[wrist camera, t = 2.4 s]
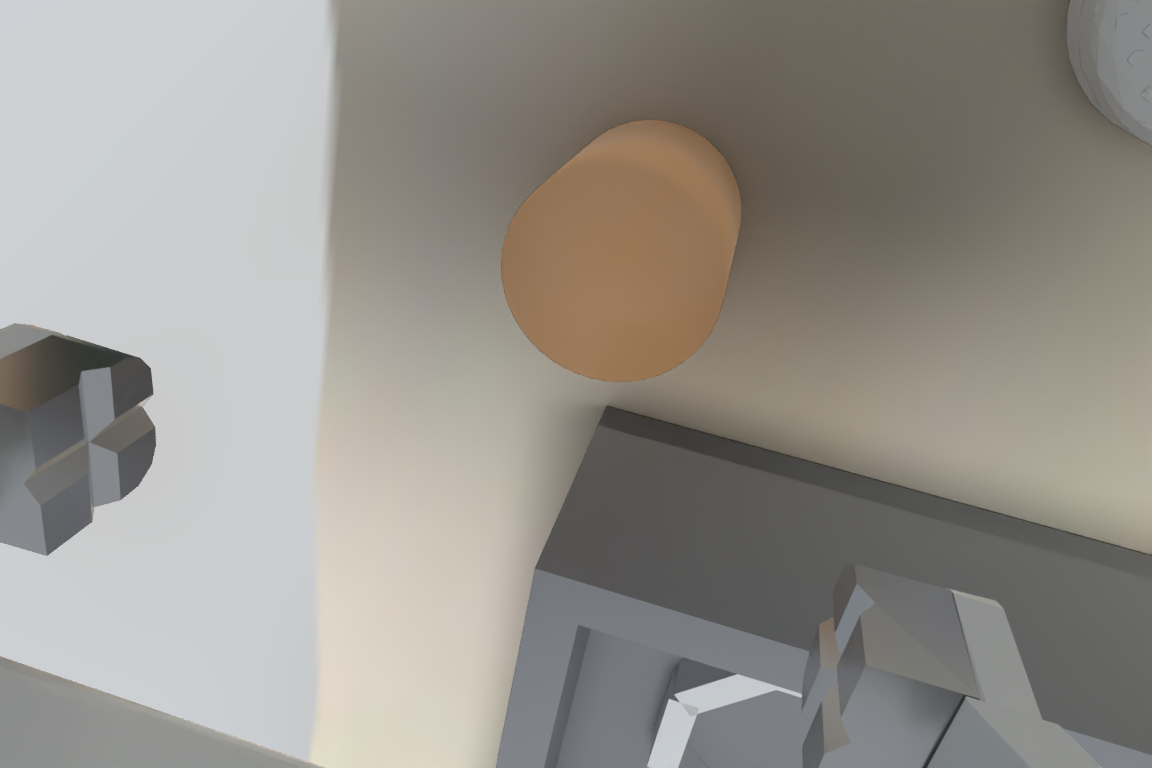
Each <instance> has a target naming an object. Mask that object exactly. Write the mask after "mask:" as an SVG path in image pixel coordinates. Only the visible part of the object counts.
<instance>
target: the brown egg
mask: <svg viewBox="0 0 1152 768" xmlns="http://www.w3.org/2000/svg"><path fill="white" fill-rule="evenodd" d="M741 215H742V207H741V197H740V192H739V187H738V184H737V181H736V178H735V176H734V174H733V172H732V170H731V168H730V166H729V164H728V163H727V161H726V160H725V158H724V157H723V155H722V154H721V153H720V152H719V151H718V150H717V149H716V147H715V146H714V145H713V144H711V143H710V142H709V141H708V140H707V139H705V138H704V137H703V136H701V135H700V134H698V133H696V132H695V131H693V130H691V129H689V128H687V127H684V126H682V125H679V124H676V123H672V122H668V121H661V120H639V121H632V122H629V123H625V124H621V125H619V126H616V127H614V128H612V129H610V130H608V131H606V132H604V133H603V134H601V135H600V136H598V137H597V138H596V139H595V140H593V141H592V142H591V143H590V144H588V145H587V146H586V147H585V148H584V149H583V150H581V151H580V152H579V153H578V154H577V155H576V156H574V157H573V158H572V159H571V160H570V161H569V162H567V163H566V164H565V165H564V166H563V167H562V168H560V169H559V170H558V171H557V172H556V173H555V174H553V175H552V176H551V177H550V178H549V179H548V180H546V181H545V182H544V183H543V184H542V185H541V186H539V187H538V188H537V189H536V190H535V191H534V192H533V193H532V194H531V195H530V196H529V197H528V198H527V199H526V200H525V201H524V202H523V204H522V205H521V207H520V208H519V209H518V211H517V212H516V214H515V216H514V218H513V220H512V222H511V223H510V226H509V228H508V231H507V234H506V237H505V241H504V245H503V250H502V261H501V271H502V282H503V287H504V293H505V296H506V299H507V302H508V305H509V308H510V310H511V312H512V314H513V316H514V318H515V320H516V322H517V323H518V325H519V327H520V328H521V330H522V331H523V332H524V334H525V335H526V336H527V337H528V339H529V340H530V341H531V342H532V343H533V344H534V345H535V346H536V347H537V348H538V349H539V350H540V351H541V352H542V353H543V354H545V355H546V356H547V357H548V358H550V359H551V360H552V361H554V362H556V363H557V364H559V365H560V366H562V367H564V368H566V369H568V370H570V371H572V372H574V373H577V374H580V375H583V376H586V377H589V378H593V379H598V380H602V381H613V382H629V381H637V380H643V379H647V378H651V377H654V376H658V375H660V374H662V373H665V372H667V371H669V370H671V369H673V368H675V367H676V366H678V365H680V364H681V363H683V362H684V361H685V360H686V359H688V358H689V357H690V356H691V355H693V354H694V353H695V352H696V351H697V349H698V348H699V347H700V346H701V345H702V344H703V343H704V341H705V340H706V339H707V337H708V336H709V334H710V333H711V331H712V329H713V327H714V325H715V323H716V322H717V319H718V316H719V313H720V311H721V308H722V304H723V299H724V295H725V291H726V287H727V282H728V278H729V274H730V269H731V265H732V261H733V256H734V252H735V248H736V243H737V239H738V235H739V230H740V225H741Z"/></svg>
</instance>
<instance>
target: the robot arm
mask: <svg viewBox="0 0 1152 768" xmlns="http://www.w3.org/2000/svg"><path fill="white" fill-rule="evenodd" d="M152 395H153V385H152V376H151V368H150V367H149V366H148V365H147V364H146V363H145V362H144V361H143V360H142V359H141V358H138V357H135V356H132V355H129V354H125V353H122V352H119V351H115V350H112V349H109V348H106V347H102V346H100V345H96V344H93V343H90V342H87V341H84V340H80V339H77V338H74V337H70V336H65V335H63V334H61V333H58V332H54V331H50V330H47V329H43V328H40V327H36V326H33V325H26V324H12V325H10V326H7V327H5V328H2V329H0V542H1V543H5V544H8V545H12V546H15V547H19V548H22V549H25V550H29V551H32V552H36V553H39V554H42V555H46V556H47V555H49V554H50V553H51V552H53V551H54V550H55V549H57V548H58V547H59V546H60V545H62V544H63V543H64V542H66V541H67V540H69V539H70V538H71V537H73V536H74V535H75V534H76V533H78V532H79V531H80V530H82V529H83V528H84V527H85V526H87V525H88V524H90V523H91V522H92V520H93V513H94V507H96V506H100V505H104V504H108V503H111V502H115V501H118V500H121V499H122V498H123V497H125V496H126V495H127V494H129V493H130V492H131V491H132V490H134V489H135V488H136V487H137V486H138V485H139V484H140V482H141V481H142V479H143V477H144V476H145V474H146V473H147V471H148V469H149V468H150V466H151V464H152V460H153V456H154V451H155V446H156V439H155V438H156V437H155V426H154V424H153V423H152V421H151V420H150V418H149V416H148V415H147V413H146V412H145V410H144V409H143V406H144V405H145V403H146V402H147V401H148V400H149V399H150V398H151V396H152ZM832 594H833V612H834V617H832V618H830V619H828V620H827V621H825V622H823V623H821V624H819V626H818V629H817V632H816V634H815V637H814V640H813V642H812V645H811V647H810V651H809V655H808V659H807V663H806V667H805V671H804V677H803V686H802V713H803V714H804V716H805V717H806V719H807V720H808V721H809V723H810V724H811V727H810V729H809V731H808V734H807V736H806V738H805V741H804V743H803V745H802V763H803V768H1103V767H1102V766H1101V765H1100V764H1099V763H1098V762H1097V761H1096V760H1095V759H1094V758H1093V757H1092V756H1090V755H1089V754H1088V753H1087V752H1086V751H1085V750H1084V749H1083V748H1082V747H1081V746H1080V745H1079V744H1078V743H1077V742H1076V741H1075V740H1074V739H1073V738H1072V737H1071V736H1070V735H1069V734H1068V733H1067V732H1066V731H1065V730H1064V729H1063V728H1062V727H1061V726H1060V725H1058V724H1055V723H1052V722H1048V721H1045V720H1043V719H1042V716H1041V714H1040V711H1039V708H1038V705H1037V702H1036V699H1035V697H1034V694H1033V691H1032V688H1031V685H1030V682H1029V680H1028V677H1027V674H1026V671H1025V668H1024V665H1023V663H1022V660H1021V657H1020V654H1019V651H1018V648H1017V645H1016V643H1015V640H1014V637H1013V634H1012V631H1011V628H1010V626H1009V623H1008V620H1007V617H1006V614H1005V611H1004V609H1003V607H1002V606H1001V605H1000V604H999V603H998V602H997V601H995V600H991V599H987V598H983V597H979V596H975V595H971V594H967V593H963V592H959V591H955V590H951V589H947V588H946V589H945V588H941V587H937V586H934V585H930V584H926V583H922V582H918V581H915V580H911V579H907V578H903V577H900V576H896V575H892V574H888V573H885V572H881V571H877V570H873V569H870V568H866V567H862V566H858V565H855V564H851V563H847V565H846V566H845V568H844V569H843V571H842V572H841V574H840V576H839V579H838V581H837V583H836V585H835V588H834V590H833V592H832ZM0 768H325V767H322V766H319V765H316V764H313V763H310V762H307V761H304V760H301V759H298V758H295V757H292V756H289V755H287V754H284V753H281V752H278V751H275V750H271V749H269V748H266V747H263V746H260V745H257V744H255V743H251V742H249V741H245V740H243V739H240V738H237V737H234V736H231V735H228V734H225V733H222V732H219V731H216V730H214V729H211V728H208V727H204V726H202V725H199V724H196V723H193V722H190V721H187V720H184V719H181V718H179V717H176V716H173V715H170V714H167V713H164V712H161V711H158V710H155V709H152V708H149V707H146V706H144V705H141V704H138V703H135V702H132V701H129V700H126V699H123V698H120V697H117V696H114V695H111V694H109V693H105V692H103V691H100V690H97V689H94V688H91V687H88V686H85V685H82V684H79V683H76V682H73V681H71V680H68V679H64V678H62V677H59V676H56V675H53V674H50V673H47V672H44V671H41V670H38V669H35V668H33V667H30V666H27V665H24V664H21V663H18V662H15V661H12V660H9V659H6V658H3V657H1V656H0Z"/></svg>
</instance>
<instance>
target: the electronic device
mask: <svg viewBox="0 0 1152 768" xmlns="http://www.w3.org/2000/svg"><path fill="white" fill-rule="evenodd" d="M1066 40H1067V48H1068V54H1069V60H1070V64H1071V66H1072V69H1073V71H1074V74H1075V76H1076V78H1077V80H1078V83H1079V85H1080V87H1081V88H1082V90H1083V91H1084V93H1085V94H1086V96H1087V98H1088V99H1089V101H1090V102H1091V104H1092V105H1093V106H1094V107H1095V108H1096V109H1097V110H1098V111H1099V112H1100V113H1102V114H1103V115H1104V116H1105V117H1106V118H1107V119H1108V120H1109V121H1110V122H1112V123H1114V124H1115V125H1117V126H1119V127H1121V128H1122V129H1124V130H1125V131H1127V132H1128V133H1130V134H1132V135H1133V136H1135V137H1137V138H1139V139H1140V140H1142V141H1144V142H1145V143H1147V144H1149V145H1150V146H1152V0H1070V3H1069V7H1068V11H1067V30H1066Z"/></svg>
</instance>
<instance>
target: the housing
mask: <svg viewBox="0 0 1152 768" xmlns="http://www.w3.org/2000/svg"><path fill="white" fill-rule="evenodd" d="M847 563H851V564H855V565H858V566H862V567H866V568H870V569H873V570H877V571H881V572H885V573H888V574H892V575H896V576H900V577H903V578H907V579H911V580H915V581H918V582H922V583H926V584H930V585H934V586H937V587H941V588H945V589H946V588H947V589H951V590H955V591H959V592H963V593H967V594H971V595H975V596H979V597H983V598H987V599H991V600H995V601H997V602H998V603H999V604H1000V605H1001V606H1002V607H1003V609H1004V611H1005V614H1006V617H1007V620H1008V623H1009V626H1010V628H1011V631H1012V634H1013V637H1014V640H1015V643H1016V645H1017V648H1018V651H1019V654H1020V657H1021V660H1022V663H1023V665H1024V668H1025V671H1026V674H1027V677H1028V680H1029V682H1030V685H1031V688H1032V691H1033V694H1034V697H1035V699H1036V702H1037V705H1038V708H1039V711H1040V714H1041V716H1042V719H1043V720H1045V721H1048V722H1052V723H1055V724H1058V725H1060V726H1061V727H1062V728H1063V729H1064V730H1065V731H1066V732H1067V733H1068V734H1069V735H1070V736H1071V737H1072V738H1073V739H1074V740H1075V741H1076V742H1077V743H1078V744H1079V745H1080V746H1081V747H1082V748H1083V749H1084V750H1085V751H1086V752H1087V753H1088V754H1089V755H1090V756H1092V757H1093V758H1094V759H1095V760H1096V761H1097V762H1098V763H1099V764H1100V765H1101V766H1102V767H1103V768H1152V556H1151V555H1147V554H1143V553H1140V552H1136V551H1133V550H1129V549H1125V548H1122V547H1118V546H1114V545H1111V544H1107V543H1103V542H1100V541H1096V540H1092V539H1089V538H1085V537H1082V536H1078V535H1074V534H1071V533H1067V532H1063V531H1060V530H1056V529H1052V528H1049V527H1045V526H1041V525H1038V524H1034V523H1031V522H1027V521H1023V520H1020V519H1016V518H1012V517H1009V516H1005V515H1001V514H998V513H994V512H991V511H987V510H983V509H980V508H976V507H972V506H969V505H965V504H961V503H958V502H954V501H950V500H947V499H943V498H940V497H936V496H932V495H929V494H925V493H921V492H918V491H914V490H910V489H907V488H903V487H899V486H896V485H892V484H889V483H885V482H881V481H878V480H874V479H870V478H867V477H863V476H859V475H856V474H852V473H849V472H845V471H841V470H838V469H834V468H830V467H827V466H823V465H819V464H816V463H812V462H808V461H805V460H801V459H798V458H794V457H790V456H787V455H783V454H779V453H776V452H772V451H768V450H765V449H761V448H757V447H754V446H750V445H747V444H743V443H739V442H736V441H732V440H728V439H725V438H721V437H717V436H714V435H710V434H706V433H703V432H699V431H696V430H692V429H688V428H685V427H681V426H677V425H674V424H670V423H666V422H663V421H659V420H656V419H652V418H648V417H645V416H641V415H637V414H634V413H630V412H626V411H623V410H619V409H615V408H612V407H608V406H606V409H605V411H604V413H603V415H602V418H601V420H600V422H599V424H598V427H597V429H596V431H595V434H594V436H593V438H592V440H591V443H590V445H589V447H588V449H587V452H586V454H585V456H584V458H583V461H582V463H581V465H580V468H579V470H578V472H577V474H576V477H575V479H574V481H573V483H572V486H571V488H570V490H569V493H568V495H567V497H566V499H565V502H564V504H563V506H562V508H561V511H560V513H559V515H558V518H557V520H556V522H555V524H554V527H553V529H552V531H551V533H550V536H549V538H548V540H547V542H546V545H545V547H544V549H543V552H542V554H541V556H540V558H539V561H538V563H537V565H536V567H535V571H534V576H533V581H532V586H531V592H530V597H529V602H528V607H527V612H526V617H525V622H524V627H523V632H522V637H521V642H520V647H519V652H518V657H517V662H516V667H515V673H514V678H513V683H512V688H511V693H510V698H509V703H508V708H507V713H506V718H505V723H504V728H503V733H502V738H501V743H500V748H499V754H498V759H497V764H496V768H803V763H802V745H803V743H804V741H805V738H806V736H807V734H808V731H809V729H810V727H811V724H810V723H809V721H808V720H807V719H806V717H805V716H804V714H803V713H802V686H803V677H804V671H805V667H806V663H807V659H808V655H809V651H810V647H811V645H812V642H813V640H814V637H815V634H816V632H817V629H818V626H819V624H821V623H823V622H825V621H827V620H828V619H830V618H832V617H834V612H833V594H832V592H833V590H834V588H835V585H836V583H837V581H838V579H839V576H840V574H841V572H842V571H843V569H844V568H845V566H846V565H847Z"/></svg>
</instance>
